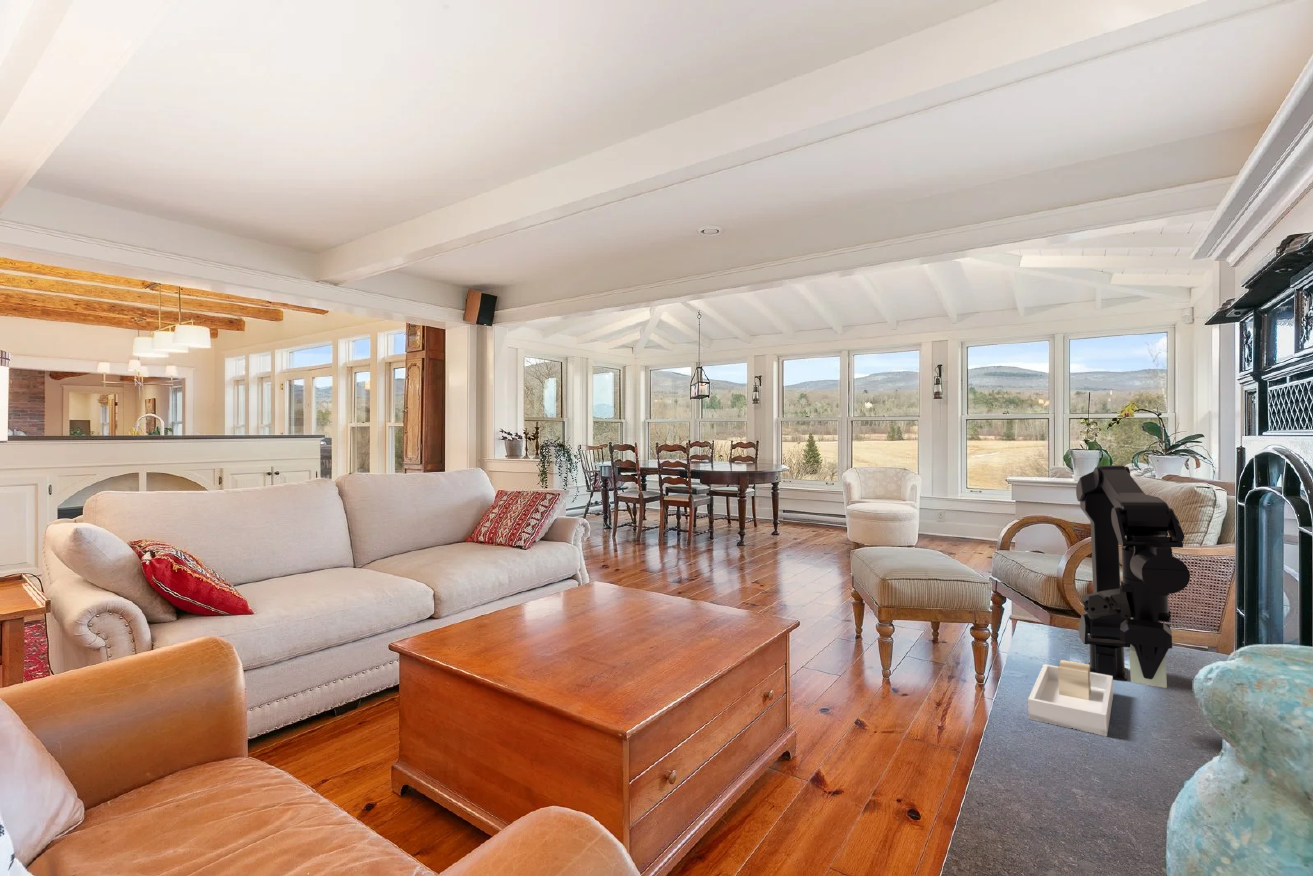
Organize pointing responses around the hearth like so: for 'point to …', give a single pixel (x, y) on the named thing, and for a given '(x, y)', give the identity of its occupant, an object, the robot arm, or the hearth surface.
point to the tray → (1071, 703)
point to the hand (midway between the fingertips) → (1148, 673)
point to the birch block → (1074, 679)
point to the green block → (1137, 673)
